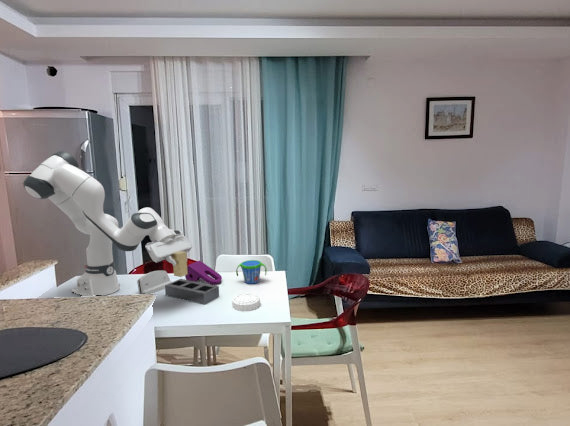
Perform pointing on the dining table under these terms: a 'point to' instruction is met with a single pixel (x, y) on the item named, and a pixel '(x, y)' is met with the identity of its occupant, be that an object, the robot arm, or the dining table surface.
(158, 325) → the dining table surface
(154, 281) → the hinge
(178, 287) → the grey rectangular block
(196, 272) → the mounting bracket
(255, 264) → the snack cup
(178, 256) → the brass peg
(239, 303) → the mooncake
